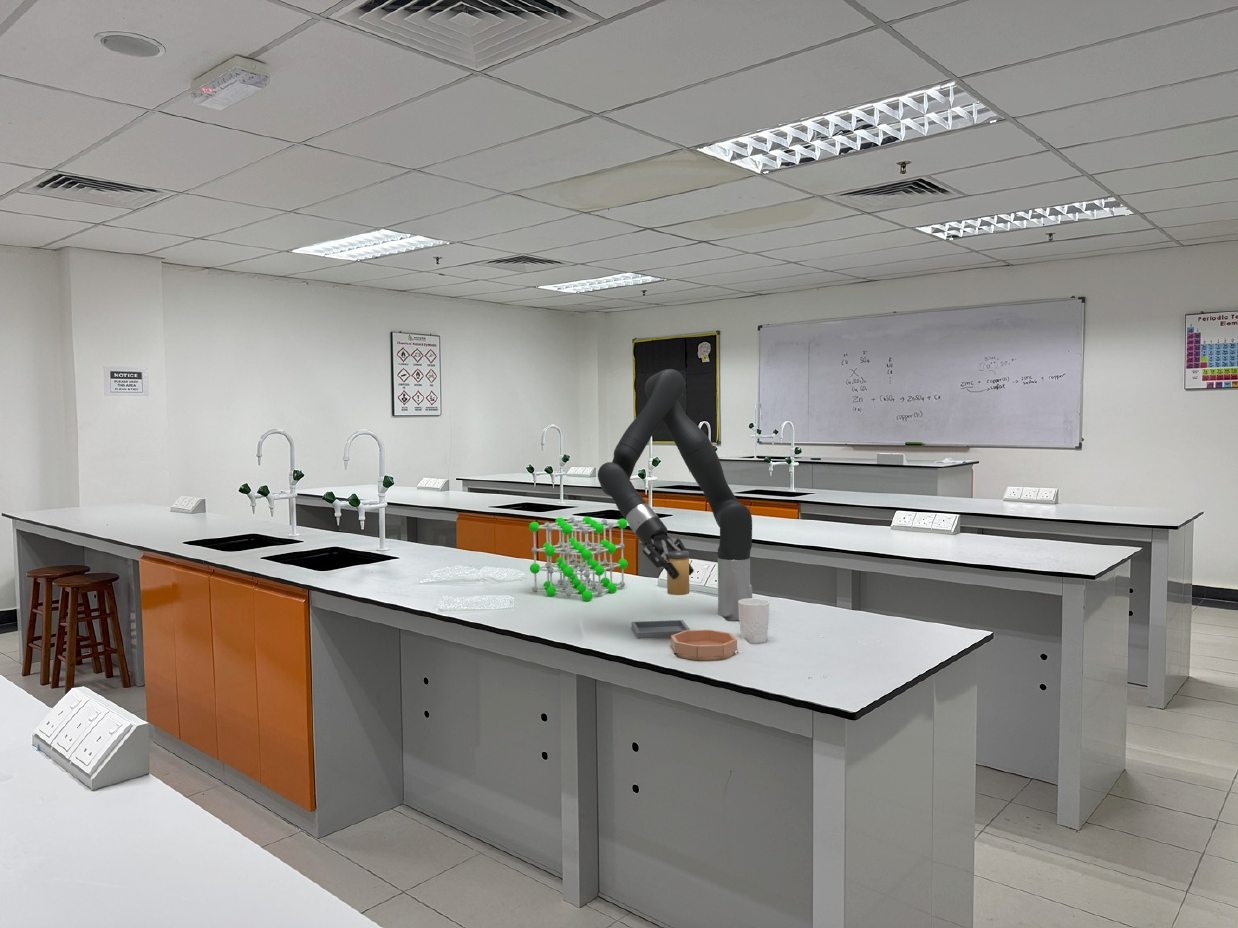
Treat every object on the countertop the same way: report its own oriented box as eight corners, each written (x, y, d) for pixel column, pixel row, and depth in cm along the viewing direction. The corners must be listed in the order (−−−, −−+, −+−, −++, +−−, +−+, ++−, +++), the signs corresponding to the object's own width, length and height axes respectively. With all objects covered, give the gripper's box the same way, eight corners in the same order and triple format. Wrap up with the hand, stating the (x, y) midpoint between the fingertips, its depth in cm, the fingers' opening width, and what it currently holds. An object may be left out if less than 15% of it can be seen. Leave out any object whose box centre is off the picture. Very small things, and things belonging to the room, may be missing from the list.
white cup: (762, 645, 206) (762, 606, 205) (733, 641, 210) (733, 602, 209) (774, 638, 212) (773, 600, 212) (745, 634, 216) (745, 597, 216)
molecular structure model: (630, 588, 279) (629, 518, 278) (588, 602, 258) (587, 526, 257) (572, 582, 292) (571, 514, 291) (528, 594, 271) (526, 522, 270)
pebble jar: (687, 590, 212) (687, 550, 211) (691, 594, 206) (691, 553, 205) (665, 590, 211) (664, 550, 211) (668, 595, 205) (668, 554, 205)
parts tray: (682, 628, 223) (682, 619, 223) (691, 640, 211) (691, 630, 211) (631, 630, 222) (631, 621, 222) (637, 642, 210) (637, 632, 210)
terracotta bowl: (726, 642, 209) (726, 628, 209) (741, 659, 194) (741, 644, 194) (667, 644, 207) (667, 631, 207) (678, 661, 192) (678, 647, 192)
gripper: (636, 518, 207) (675, 570, 200) (670, 512, 218) (708, 561, 211) (621, 537, 211) (658, 589, 203) (655, 531, 222) (692, 580, 214)
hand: (683, 575), depth 207 cm, fingers closed on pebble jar, 5 cm apart
